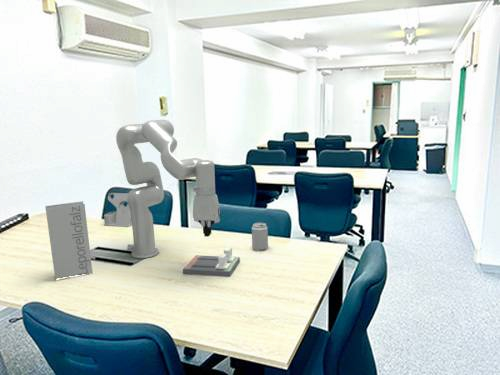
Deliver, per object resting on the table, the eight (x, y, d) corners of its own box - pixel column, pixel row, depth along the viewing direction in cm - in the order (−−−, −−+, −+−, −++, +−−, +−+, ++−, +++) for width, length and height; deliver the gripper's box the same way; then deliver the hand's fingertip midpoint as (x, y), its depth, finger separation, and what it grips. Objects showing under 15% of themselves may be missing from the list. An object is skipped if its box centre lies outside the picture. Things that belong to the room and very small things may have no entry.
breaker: (221, 261, 177) (220, 250, 176) (224, 257, 182) (223, 246, 181) (232, 262, 176) (231, 251, 175) (235, 257, 181) (234, 247, 180)
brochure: (55, 281, 169) (45, 208, 163) (54, 276, 174) (45, 206, 168) (92, 273, 175) (84, 203, 169) (90, 269, 180) (82, 201, 174)
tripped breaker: (215, 268, 169) (214, 257, 168) (219, 264, 174) (218, 253, 173) (227, 269, 168) (226, 258, 167) (230, 264, 173) (230, 253, 172)
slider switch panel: (183, 273, 171) (182, 268, 171) (196, 259, 187) (196, 255, 186) (230, 276, 167) (229, 271, 166) (239, 261, 182) (239, 257, 182)
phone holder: (102, 225, 245) (99, 195, 242) (112, 221, 255) (109, 192, 251) (128, 227, 240) (125, 196, 237) (138, 222, 250) (135, 193, 246)
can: (266, 251, 193) (266, 226, 191) (250, 251, 195) (250, 226, 192) (269, 246, 200) (268, 222, 198) (253, 245, 202) (253, 221, 200)
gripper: (184, 193, 164) (186, 237, 168) (221, 194, 161) (222, 239, 165) (191, 188, 171) (193, 231, 175) (226, 190, 168) (227, 233, 172)
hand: (207, 235), depth 170 cm, fingers closed
